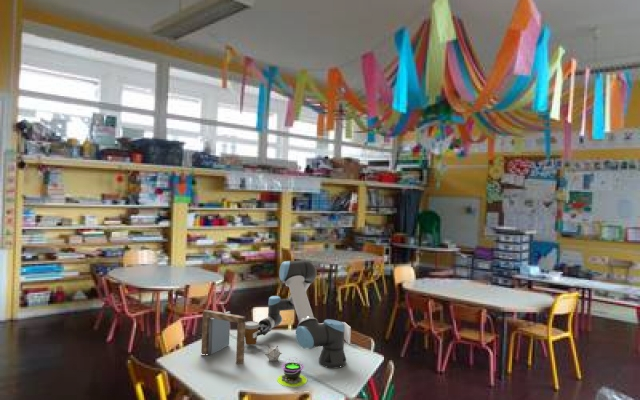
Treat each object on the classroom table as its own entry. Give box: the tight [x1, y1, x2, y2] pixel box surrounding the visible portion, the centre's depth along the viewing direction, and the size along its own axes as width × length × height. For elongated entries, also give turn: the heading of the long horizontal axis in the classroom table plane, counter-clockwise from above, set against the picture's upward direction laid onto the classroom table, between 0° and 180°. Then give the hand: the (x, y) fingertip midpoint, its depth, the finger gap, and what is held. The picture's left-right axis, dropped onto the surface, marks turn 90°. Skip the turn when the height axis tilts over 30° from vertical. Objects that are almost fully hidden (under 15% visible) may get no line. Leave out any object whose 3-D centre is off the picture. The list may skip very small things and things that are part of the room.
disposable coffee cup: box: [244, 320, 259, 346], centre depth 274 cm, size 10×10×12 cm
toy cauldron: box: [276, 356, 308, 388], centre depth 230 cm, size 15×15×11 cm
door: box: [207, 311, 231, 356], centre depth 265 cm, size 19×4×20 cm, turn 157°
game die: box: [265, 345, 283, 363], centre depth 253 cm, size 9×8×10 cm
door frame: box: [200, 309, 246, 365], centre depth 253 cm, size 26×3×25 cm, turn 67°
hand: (246, 334), depth 269 cm, fingers closed on disposable coffee cup, 8 cm apart
